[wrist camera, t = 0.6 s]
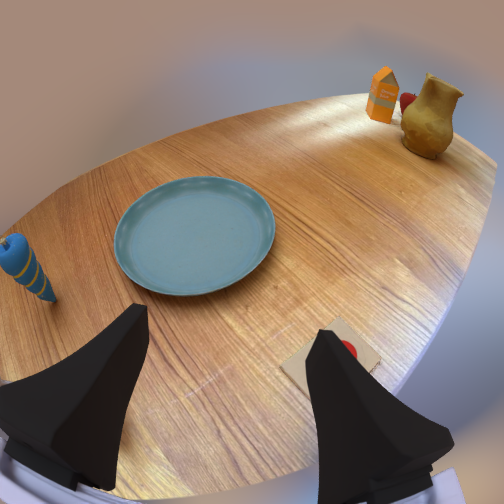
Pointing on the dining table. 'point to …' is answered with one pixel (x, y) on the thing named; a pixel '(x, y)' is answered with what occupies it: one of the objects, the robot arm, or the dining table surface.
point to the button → (350, 348)
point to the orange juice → (382, 96)
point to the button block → (365, 352)
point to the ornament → (24, 266)
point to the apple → (406, 100)
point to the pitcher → (430, 118)
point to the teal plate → (194, 235)
